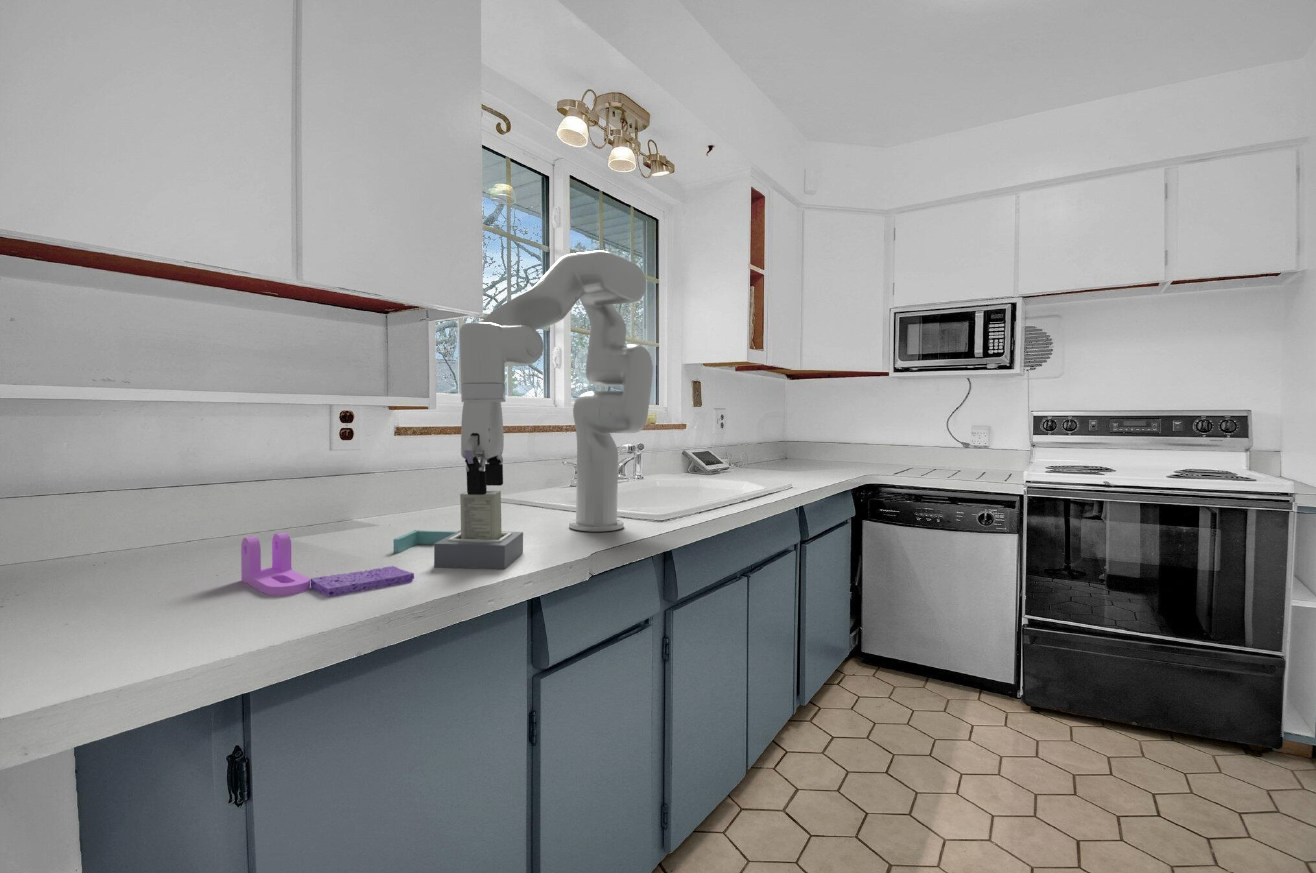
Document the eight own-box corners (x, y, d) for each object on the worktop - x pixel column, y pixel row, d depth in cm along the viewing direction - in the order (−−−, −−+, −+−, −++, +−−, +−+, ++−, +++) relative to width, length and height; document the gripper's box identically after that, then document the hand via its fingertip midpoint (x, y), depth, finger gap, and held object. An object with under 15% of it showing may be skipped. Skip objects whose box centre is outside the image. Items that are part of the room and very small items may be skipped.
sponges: (309, 590, 90) (310, 578, 90) (394, 575, 99) (394, 564, 99) (327, 601, 85) (327, 588, 85) (414, 584, 94) (415, 572, 94)
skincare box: (502, 557, 111) (502, 490, 110) (494, 563, 106) (495, 493, 106) (468, 556, 111) (468, 490, 111) (459, 562, 107) (459, 493, 106)
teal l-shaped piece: (414, 542, 122) (414, 530, 122) (469, 544, 121) (469, 531, 121) (393, 552, 113) (393, 539, 113) (452, 554, 112) (452, 540, 112)
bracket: (241, 581, 93) (241, 536, 93) (282, 574, 97) (282, 531, 97) (273, 599, 85) (273, 549, 84) (316, 590, 89) (316, 543, 89)
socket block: (459, 551, 115) (460, 528, 115) (523, 553, 114) (523, 530, 114) (434, 567, 103) (434, 541, 103) (504, 569, 102) (504, 543, 102)
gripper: (478, 393, 117) (481, 482, 118) (443, 394, 99) (446, 498, 101) (517, 393, 116) (519, 482, 118) (489, 394, 99) (491, 498, 100)
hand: (486, 489), depth 109 cm, fingers open, 9 cm apart
